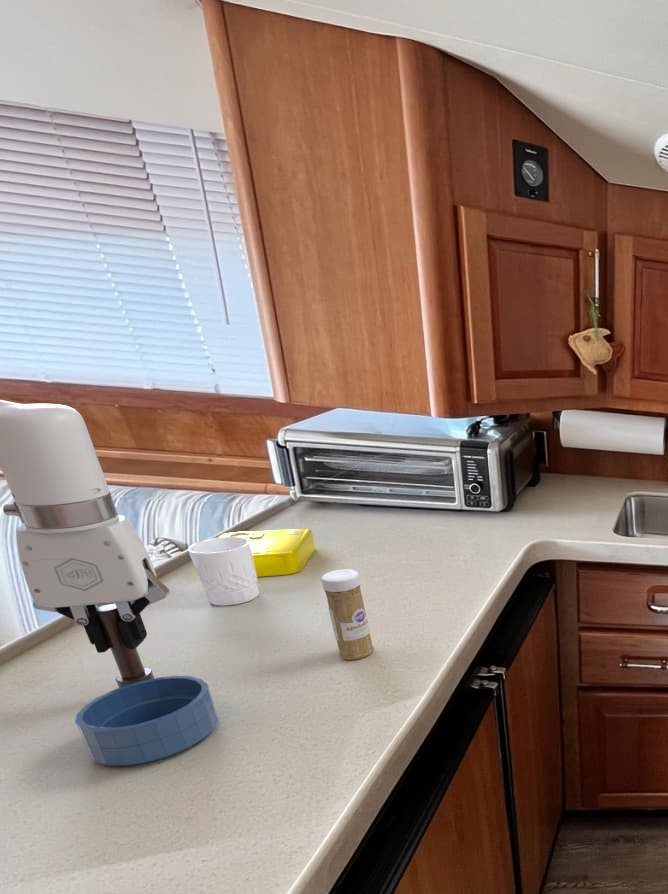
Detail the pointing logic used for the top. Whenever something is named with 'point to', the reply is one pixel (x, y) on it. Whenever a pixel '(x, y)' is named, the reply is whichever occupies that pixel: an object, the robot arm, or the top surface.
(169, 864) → the top surface
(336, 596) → the sprinkles bottle
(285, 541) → the yellow box
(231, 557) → the white cup
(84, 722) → the bowl
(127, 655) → the muddler
